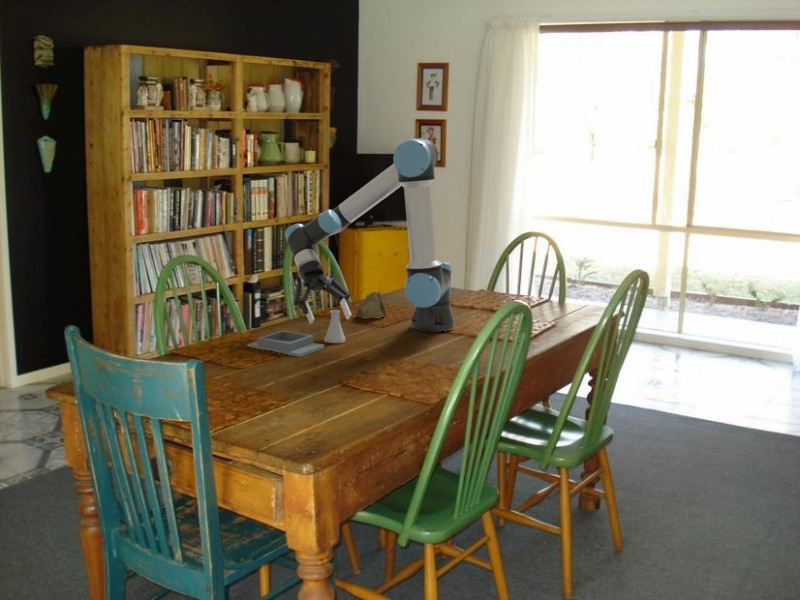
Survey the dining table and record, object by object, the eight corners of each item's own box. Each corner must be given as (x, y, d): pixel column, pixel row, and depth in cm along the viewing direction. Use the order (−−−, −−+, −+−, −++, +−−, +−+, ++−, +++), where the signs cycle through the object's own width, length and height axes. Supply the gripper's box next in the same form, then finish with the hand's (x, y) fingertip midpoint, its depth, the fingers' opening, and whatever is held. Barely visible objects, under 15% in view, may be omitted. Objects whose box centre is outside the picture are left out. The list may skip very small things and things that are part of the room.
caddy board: (324, 347, 287) (324, 337, 287) (299, 356, 276) (299, 345, 276) (273, 339, 297) (273, 328, 296) (247, 347, 286) (247, 336, 285)
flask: (342, 344, 292) (343, 314, 290) (321, 343, 293) (321, 312, 291) (348, 339, 299) (349, 309, 297) (327, 338, 300) (327, 308, 298)
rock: (348, 313, 327) (373, 312, 322) (353, 291, 330) (378, 290, 326) (362, 326, 335) (386, 325, 331) (366, 305, 339) (390, 304, 335)
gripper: (337, 269, 314) (359, 321, 305) (271, 275, 300) (292, 329, 291) (345, 256, 309) (368, 308, 300) (278, 262, 295) (300, 316, 286)
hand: (330, 319), depth 295 cm, fingers open, 13 cm apart
